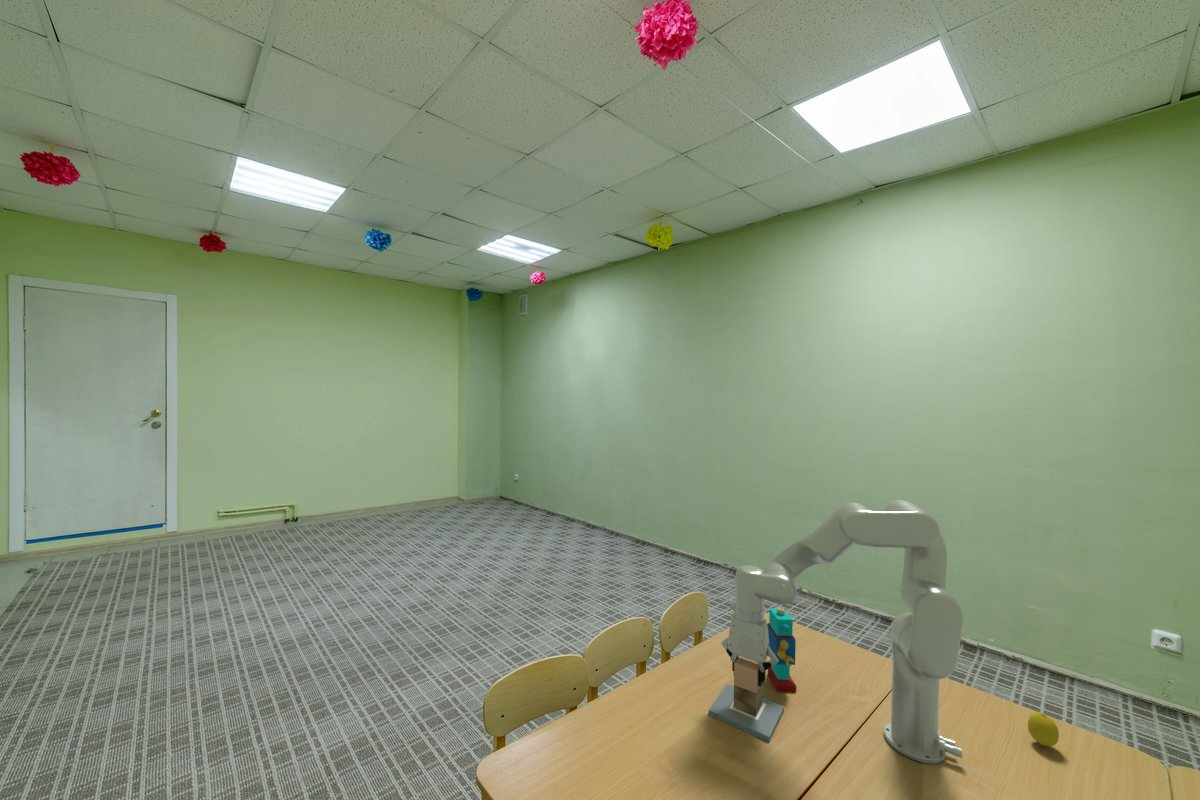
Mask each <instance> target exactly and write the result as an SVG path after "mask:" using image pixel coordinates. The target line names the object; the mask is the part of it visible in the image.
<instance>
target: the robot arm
mask: <svg viewBox="0 0 1200 800" xmlns="http://www.w3.org/2000/svg"><path fill="white" fill-rule="evenodd" d="M855 545H859V546H863V547H870V548H893V549H894V548H896V549H897V548H902V549H903V548H904V559H903V561H904V562H903V568H902V576H901V583H900V591H899V593H900V599H901V600H902V602H903V603H904V605H905V607H906V608H907V609H908V610H909V611H910V612H902V613H900V614H897V615H896V617H895V618H894V619H893V620H892V622H891V625H890V630H889V631H890V635H889V636H890V643H891V655H892V674H891V715H890V717H891V718H890V719H891V721H890V722H888V723H886V724H885V725H884V727H883V737H884V738H885V740H886V741H887V743H888V744H889V745H890V746H891V747H892V748H893V749H895V751H897V752H898V753H900V754H901V755H903V756H905V757H907V758H909V759H911V760H913V761H917V762H920V763H924V764H929V765H930V764H931V765H932V764H940V763H941V762H944V761H945V759H946V755H947V754H951V755H952V756H955V757H957V758H960V759H963V749H962V748H961V747H958V746H956V741H955V740H953V739H950V738H946V737H943V735H941V734H940V728H939V709H940V708H939V706H940V704H939V702H940V701H939V700H940V680H943V679H946V678H948V677H949V676H951V675H952V673H954V671H955V669H956V667H957V664H958V661H959V655H960V649H961V648H960V646H961V642H962V641H961V640H962V634H963V633H962V632H963V624H964V616H963V611H962V608H961V605H960V603H959V602H958V600H957V599H956V598H955V596H954V595H953V594H952V593H951V592H950V591H949V590H948V589H947V587H946V580H947V566H948V565H947V564H948V552H947V546H946V542H945V540H944V538H943V535H942V533H941V531H940V526H939V523H938V522H937V520H936V518H934V516H932V515H931V514H930V513H928V512H927V511H925V510H923V509H922V508H921V507H920V506H918V505H916V504H914V503H913V502H910V501H907V500H903V499H897V500H895V499H894V500H892V501H890V502H889V503H888V504H887V505H886V506H885V508H884V510H883V511H878V510H876V511H875V510H871V509H869V508H867V507H866V506H865V505H863V504H860V503H857V502H851V501H850V502H847V503H844V504H843V505H840V507H838V508H837V509H836V510H835V511H834V512H832V513H831V514H830V515H829V516H828V517H827V518H826V519H825V520H824V521H822V522H821V523H820V524H819V525H818V526H817V527H816V528H814V529H813V531H811V533H809V534H808V535H806V536H805V537H803V538H801V539H799V540H798V541H796V542H794V543H792V544H791V545H788V547H786V548H785V549H783V550H782V551H781V552H780V553H778V554H777V555H776V557H774V559H772V560H771V561H770V562H769V563H768V564H767V566H766V567H765V570H763V569H762V568H760V567H758V566H754V565H753V564H752V565H748V564H744V565H740V566H738V567H737V569H736V571H735V601H734V602H735V603H730V609H732V610H733V611H734V613H733V614H732V615H731V617H730V618H731V619H730V623H729V631H728V636H727V637H726V638H724V639H723V640H722V641H721V646H722V647H723V648H724V650H725V652H726V653H727V655H728V656H729V657H730V661H731V663H732V667H731V668H732V672H734V662H735V661H736V660H737V658H738V657H739V656H741V657H744V658H747V659H750V660H753V661H756V662H758V665H759V671H758V686H761V685H762V683H763V684H764V683H766V677H767V676H766V675H767V674H766V672H767V671H768V669H769V668H770V667H772V666H774V665H775V664H777V663H778V661H779V660H778V658H777V657H776V655H775V654H774V653H773V651H772V650H771V648H770V645H769V633H768V626H767V624H768V622H767V619H766V618H765V601H770V602H772V603H775V604H780V605H782V604H783V605H788V604H791V603H793V602H794V601H795V600H796V598H797V593H798V590H797V585H796V583H795V579H796V578H797V577H799V576H800V575H801V574H802V573H803V572H804V571H806V570H808V569H809V568H811V567H813V566H816V565H830V564H831V565H832V564H834V563H835V562H836V561H837V560H839V559H840V558H841V557H842V556H843V555H844V554H846V553H847V552H849V550H850V549H852V548H853V546H855ZM768 657H769V660H767V658H768ZM946 753H947V754H946Z"/></svg>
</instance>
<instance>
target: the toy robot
mask: <svg viewBox="0 0 1200 800" xmlns="http://www.w3.org/2000/svg"><path fill="white" fill-rule="evenodd" d="M781 606H782V607H781ZM768 619H769V622H767V626H768V633H769V645H770V648H771V650H772V651H773V653H774V654H775V655H776V657H777V658H778V660H779V661H778V663H777V664H775V665H774V666H772V667H770V668H769V669H767V676H768V677H769V679H770V681H771V682H772V684H773V686H774V687H775V689H776V691H777V692H788V693H789V692H790V693H792V692H793V693H794V692H795V693H796V692H797V685H796V683H795V682H794V680H793V679H792V677H791V675H790V670H791V667H792V666H795V665H796V640H797V639H796V638H795V637H794V635H793V629H794V628H793V626H794V621H793V618H792V617H791V616H790V615H789V613H788V612H787V611H786V609H785V608H784V604H779V606H778V607H777V608H769V615H768Z"/></svg>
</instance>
